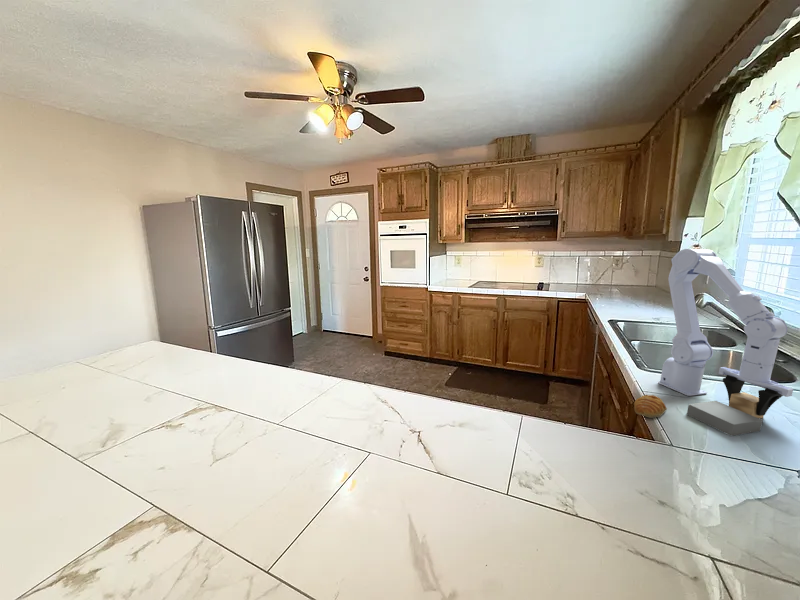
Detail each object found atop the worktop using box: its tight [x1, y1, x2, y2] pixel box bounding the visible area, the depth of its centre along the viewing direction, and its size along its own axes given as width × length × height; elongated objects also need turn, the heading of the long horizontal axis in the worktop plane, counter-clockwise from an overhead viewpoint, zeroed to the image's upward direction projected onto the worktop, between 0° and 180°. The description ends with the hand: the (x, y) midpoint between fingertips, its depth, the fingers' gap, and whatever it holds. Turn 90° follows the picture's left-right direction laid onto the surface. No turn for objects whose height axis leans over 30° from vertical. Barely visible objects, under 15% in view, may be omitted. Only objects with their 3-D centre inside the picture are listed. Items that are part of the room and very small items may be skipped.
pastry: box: [633, 394, 668, 419], centre depth 90 cm, size 9×7×4 cm
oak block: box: [728, 391, 765, 419], centre depth 90 cm, size 5×5×5 cm
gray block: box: [686, 400, 764, 437], centre depth 85 cm, size 10×10×3 cm
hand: (746, 409), depth 90 cm, fingers open, 5 cm apart
